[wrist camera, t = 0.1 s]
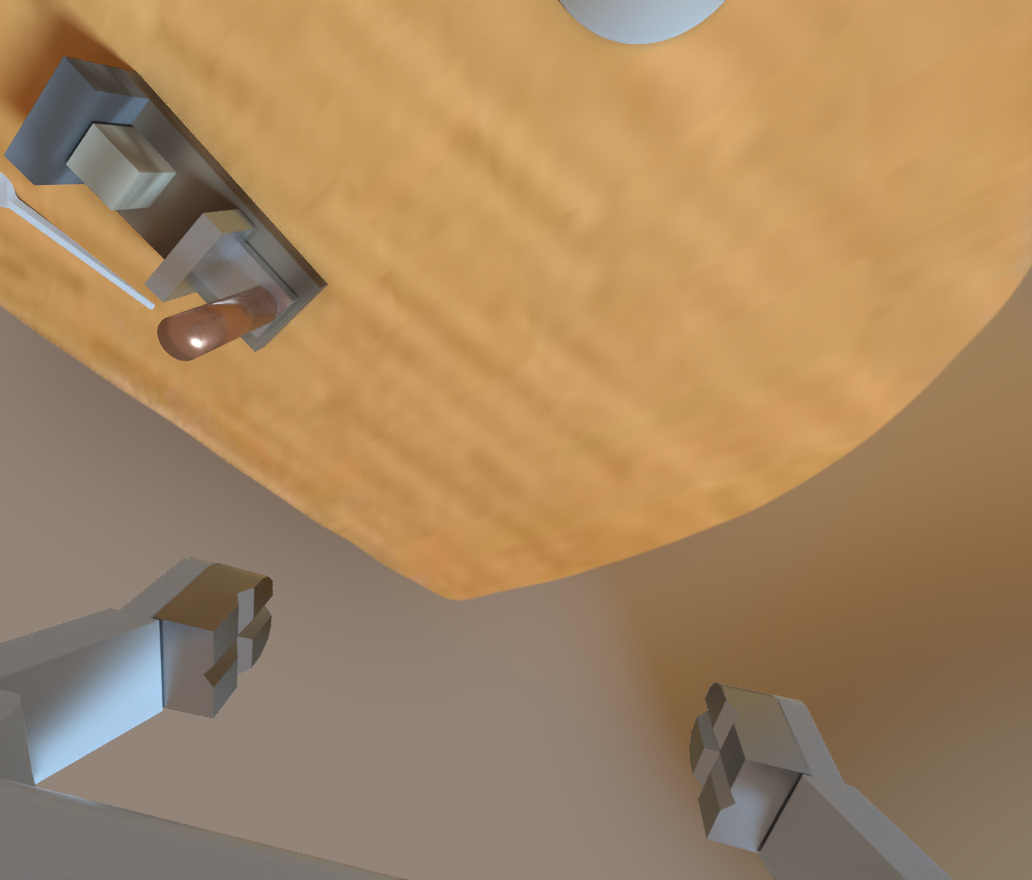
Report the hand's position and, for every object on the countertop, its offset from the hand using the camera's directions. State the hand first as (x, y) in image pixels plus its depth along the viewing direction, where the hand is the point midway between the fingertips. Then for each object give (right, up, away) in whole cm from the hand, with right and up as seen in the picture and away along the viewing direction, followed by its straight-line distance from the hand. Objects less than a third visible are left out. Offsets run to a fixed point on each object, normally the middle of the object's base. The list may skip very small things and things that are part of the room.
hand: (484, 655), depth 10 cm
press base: (-25, +22, +36) cm, 49 cm away
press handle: (-22, +17, +36) cm, 46 cm away
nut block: (-29, +25, +33) cm, 51 cm away
